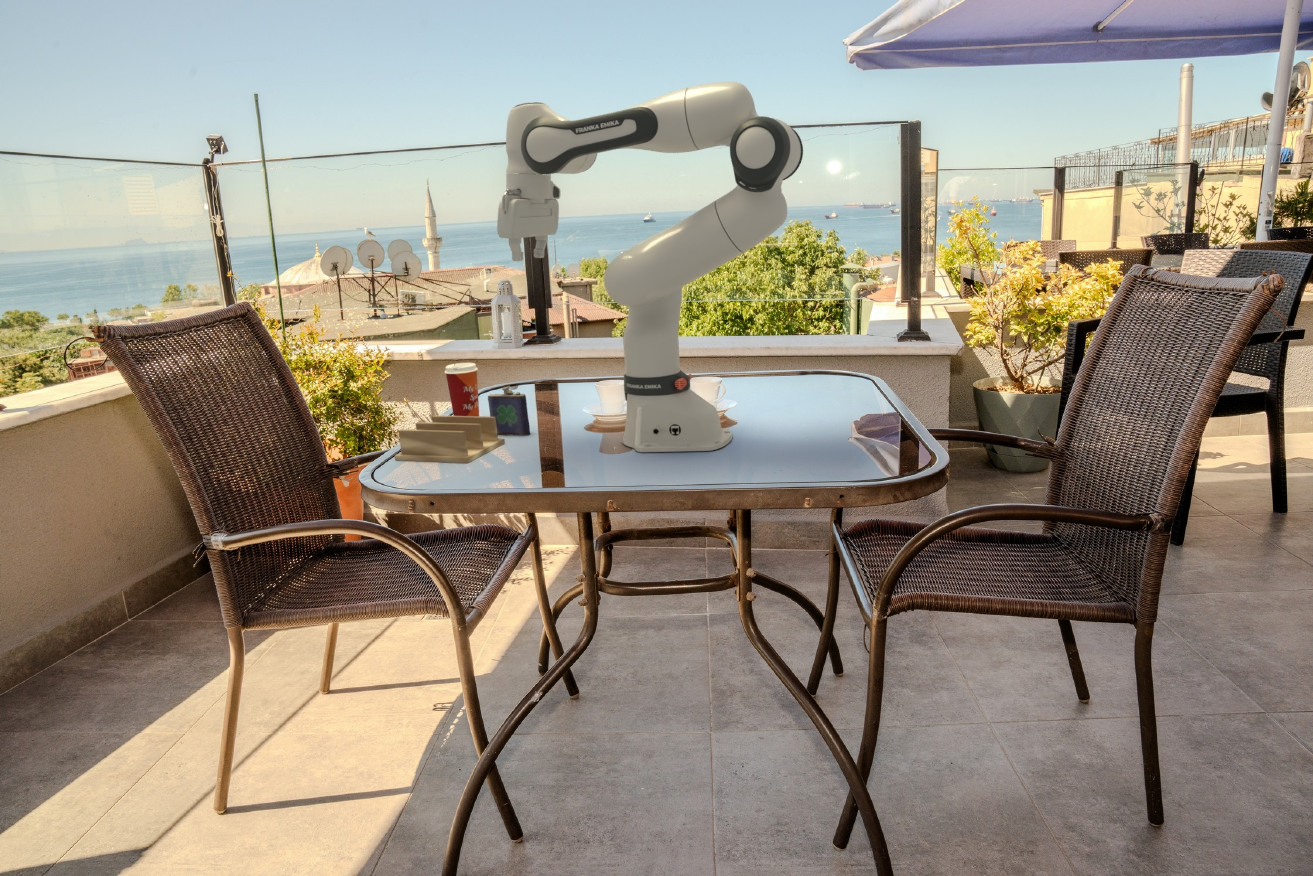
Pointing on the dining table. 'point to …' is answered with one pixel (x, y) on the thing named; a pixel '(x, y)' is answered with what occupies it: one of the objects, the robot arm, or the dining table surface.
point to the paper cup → (463, 388)
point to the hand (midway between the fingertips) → (528, 259)
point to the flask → (509, 412)
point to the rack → (449, 439)
